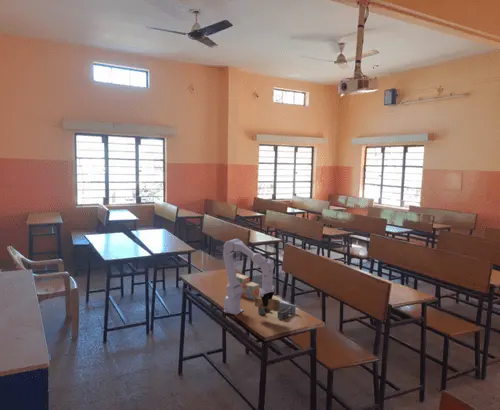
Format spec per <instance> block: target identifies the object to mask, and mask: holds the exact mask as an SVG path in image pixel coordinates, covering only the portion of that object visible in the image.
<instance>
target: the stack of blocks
mask: <svg viewBox="0 0 500 410" xmlns="http://www.w3.org/2000/svg"><path fill="white" fill-rule="evenodd" d="M236 276H237V281H239V282H240V285H241V287H242V288H243V292H242V294H241V297H244V298H246V299H248V300H251V301H252V300H253V301H255V298H256V297H257V296H260V284H259V283H256V282H252V281H250V280H251V279H250V276H248V275H244V274H241V273H237V272H236Z"/></svg>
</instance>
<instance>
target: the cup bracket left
mask: <svg viewBox="0 0 500 410" xmlns="http://www.w3.org/2000/svg"><path fill="white" fill-rule="evenodd" d="M270 311H271V310H269V309H265V308H261V307H258V309H257V314H258V313H259V314H258V315H262V314H263V316H265V315H264V314H266V312H270Z"/></svg>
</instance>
